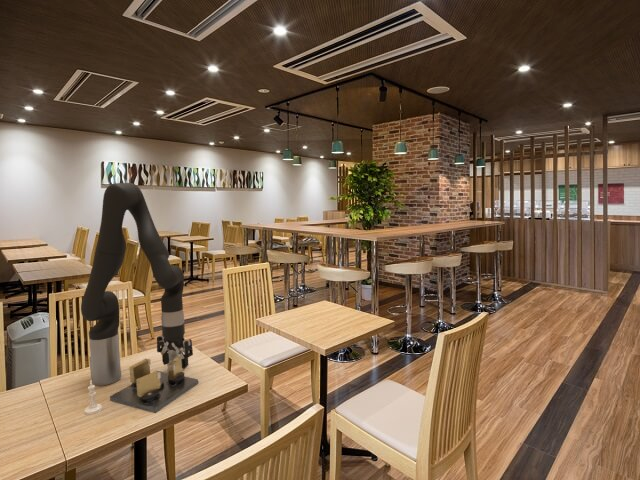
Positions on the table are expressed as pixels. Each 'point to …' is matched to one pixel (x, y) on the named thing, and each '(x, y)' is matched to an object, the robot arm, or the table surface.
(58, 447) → the table surface
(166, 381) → the plate
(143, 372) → the knob
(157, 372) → the knob
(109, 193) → the robot arm
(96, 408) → the chess piece
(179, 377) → the knob
